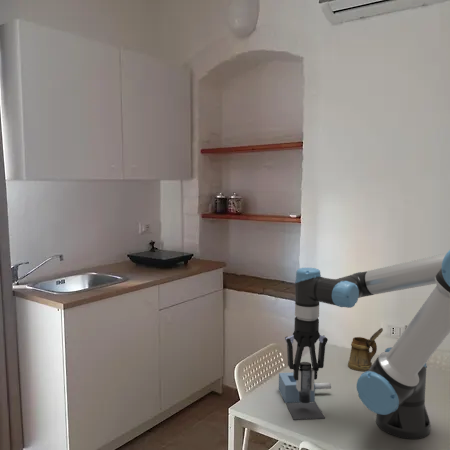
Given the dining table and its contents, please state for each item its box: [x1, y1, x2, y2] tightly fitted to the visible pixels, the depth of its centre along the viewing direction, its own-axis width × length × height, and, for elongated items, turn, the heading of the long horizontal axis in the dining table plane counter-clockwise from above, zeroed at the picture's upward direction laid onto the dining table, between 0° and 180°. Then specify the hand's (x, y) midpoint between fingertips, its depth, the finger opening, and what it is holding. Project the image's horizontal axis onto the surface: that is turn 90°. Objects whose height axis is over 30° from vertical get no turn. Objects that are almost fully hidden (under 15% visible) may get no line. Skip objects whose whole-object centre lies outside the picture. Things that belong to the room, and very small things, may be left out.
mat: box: [285, 401, 326, 421], centre depth 144 cm, size 10×10×1 cm
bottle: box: [299, 361, 312, 403], centre depth 143 cm, size 4×4×12 cm
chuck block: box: [278, 371, 332, 404], centre depth 155 cm, size 10×17×6 cm, turn 96°
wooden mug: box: [347, 327, 384, 372], centre depth 177 cm, size 9×14×18 cm, turn 45°
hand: (304, 389), depth 143 cm, fingers closed on bottle, 4 cm apart
